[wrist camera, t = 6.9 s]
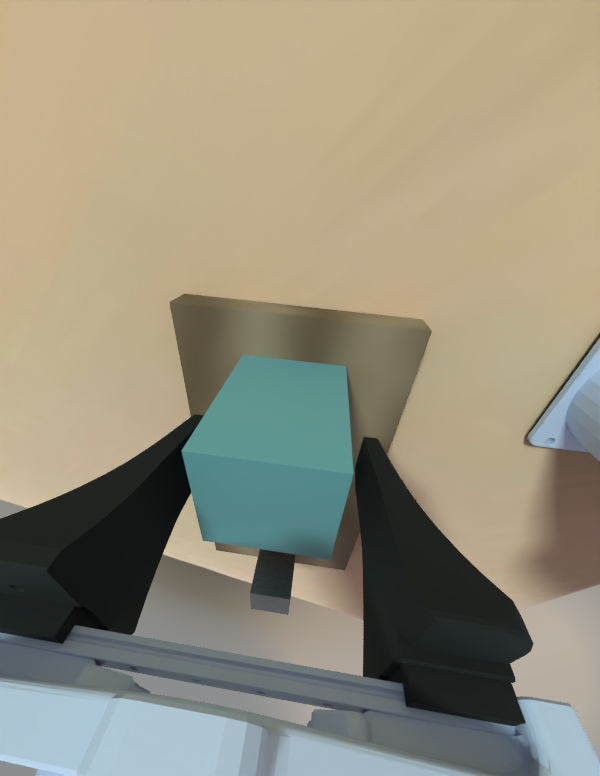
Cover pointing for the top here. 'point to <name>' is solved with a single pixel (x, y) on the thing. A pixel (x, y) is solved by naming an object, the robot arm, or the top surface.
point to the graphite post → (272, 581)
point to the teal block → (274, 457)
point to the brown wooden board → (309, 344)
